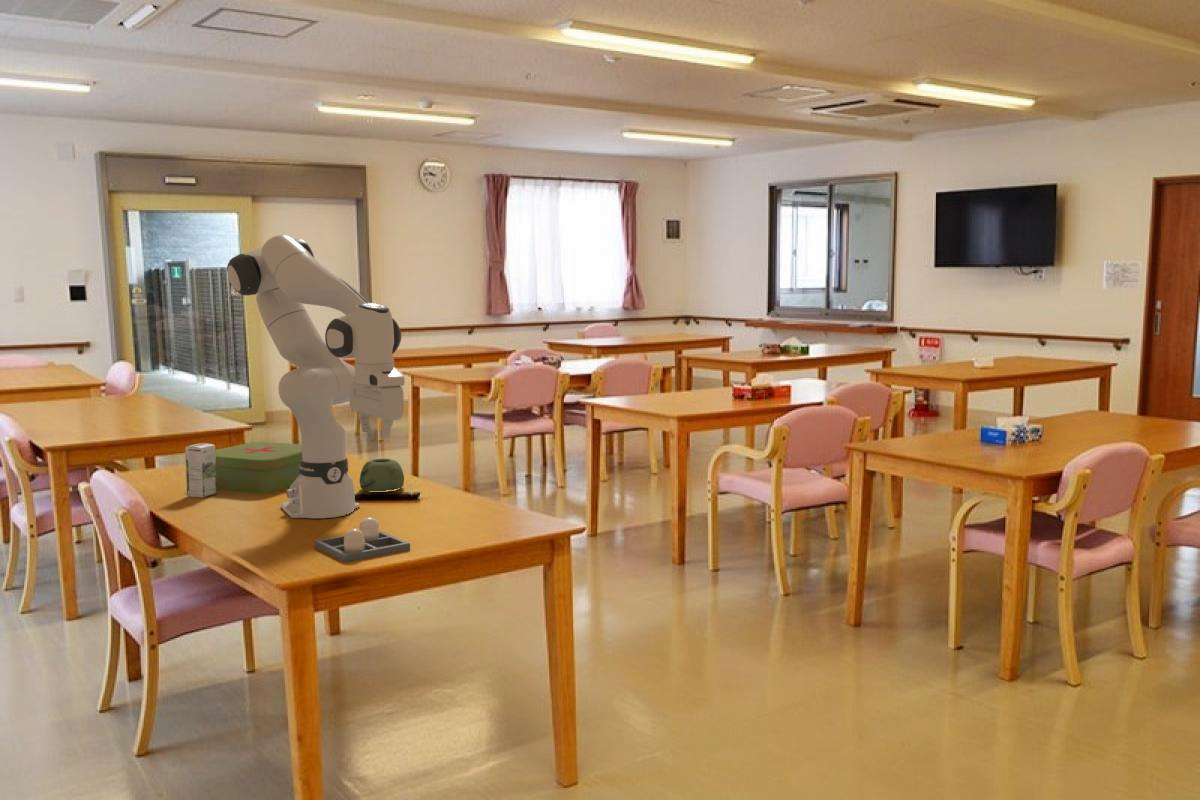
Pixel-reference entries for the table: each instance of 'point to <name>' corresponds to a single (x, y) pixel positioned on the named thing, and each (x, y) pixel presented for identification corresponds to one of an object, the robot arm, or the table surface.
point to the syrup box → (201, 470)
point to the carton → (372, 547)
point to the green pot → (381, 475)
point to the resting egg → (354, 541)
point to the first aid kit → (258, 467)
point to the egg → (369, 528)
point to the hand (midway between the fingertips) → (375, 434)
